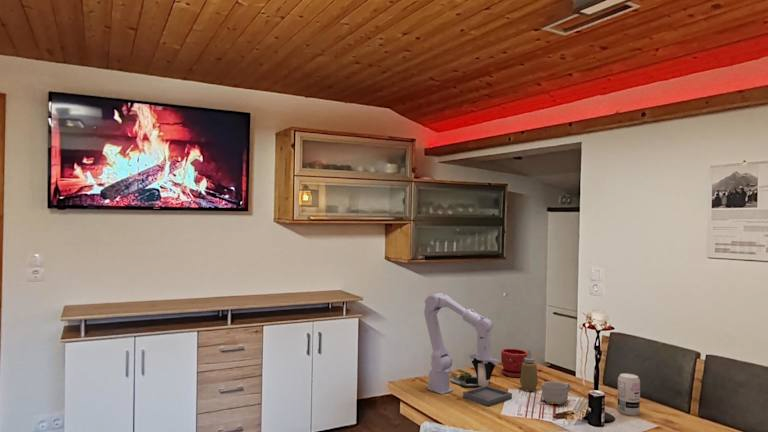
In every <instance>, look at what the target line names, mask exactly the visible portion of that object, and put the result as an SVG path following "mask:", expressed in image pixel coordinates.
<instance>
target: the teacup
mask: <svg viewBox="0 0 768 432" xmlns="http://www.w3.org/2000/svg"><path fill="white" fill-rule="evenodd" d="M571 387H572V386H571V384H570V383H568V382H565V383H564V382H560V381H543V382H542V383H541V392H542V393H541V394H542V398H543V400H544V401H545V402H546V403H547V404H549V403H550V405H553V404H552V403H556V404H558V405H557V406H559V405H563V404H565V402H567V401H568V397H569V392H570V391H571Z"/></svg>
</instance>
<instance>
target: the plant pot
mask: <svg viewBox="0 0 768 432" xmlns="http://www.w3.org/2000/svg"><path fill="white" fill-rule="evenodd" d="M527 353H528V351H526V350H523V349H518V348H517V349H516V348H504V349H501V353H500V359H501V366H502V369H501V372H502V373H503V374H504V375H505V376H507V377H512V378H513V377H514V378H519V377H521V368H522V363H523V362H524V358H525V357H527Z"/></svg>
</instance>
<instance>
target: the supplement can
mask: <svg viewBox="0 0 768 432" xmlns="http://www.w3.org/2000/svg"><path fill="white" fill-rule="evenodd" d="M640 400H641V380H640V377H639V376H638V375H636V374H633V373H619V376H618V377H617V411H618V412H619V413H621V414H623V415H626V416H630V417H631V416H632V417H633V416H637V415H639V414H640V413H641V410H640V407H641V401H640Z"/></svg>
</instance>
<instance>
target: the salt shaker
mask: <svg viewBox="0 0 768 432" xmlns="http://www.w3.org/2000/svg"><path fill="white" fill-rule="evenodd" d="M486 363H487V362H484V361H483V362H479V363H478V385H479V386H482V387H483V386H490V383H489V380H486V370H485V366H484V364H486Z"/></svg>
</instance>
